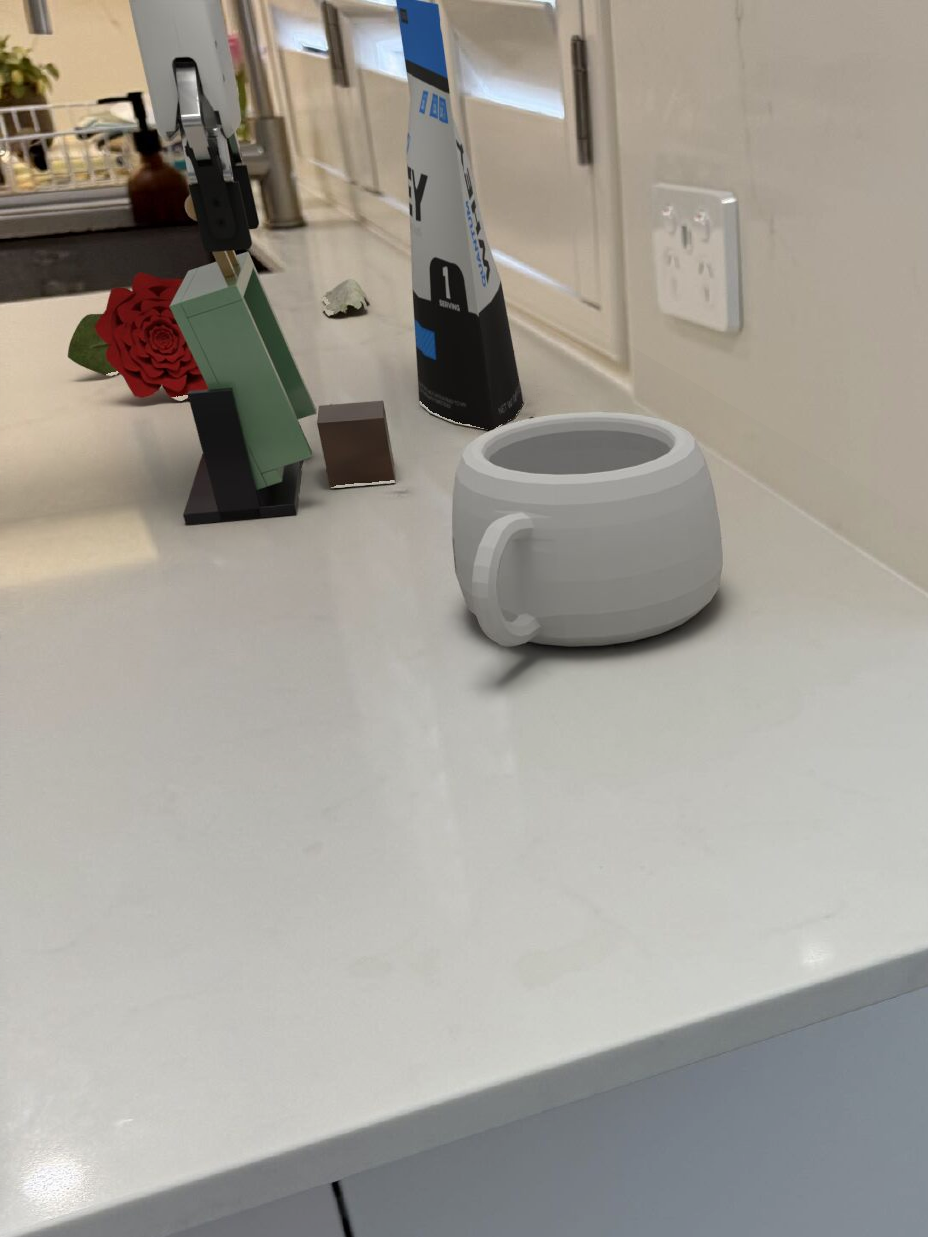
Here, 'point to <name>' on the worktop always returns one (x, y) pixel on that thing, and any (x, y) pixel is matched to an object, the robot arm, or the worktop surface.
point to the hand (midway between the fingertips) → (233, 237)
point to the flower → (139, 340)
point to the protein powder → (451, 249)
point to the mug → (585, 529)
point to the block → (356, 443)
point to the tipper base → (231, 468)
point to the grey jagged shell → (346, 296)
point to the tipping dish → (246, 358)
